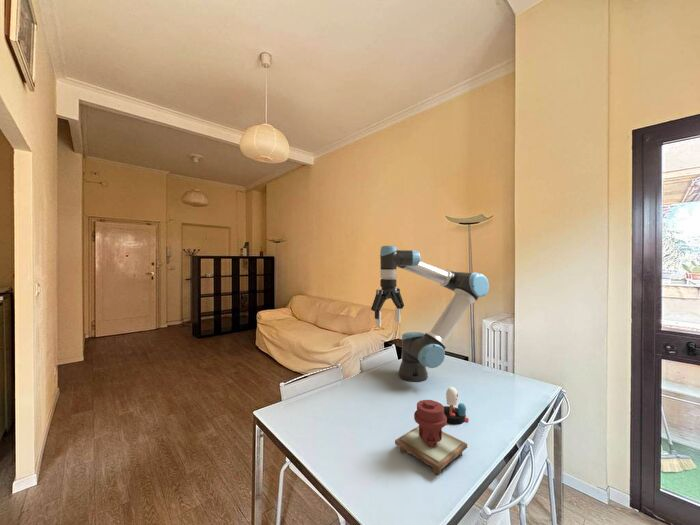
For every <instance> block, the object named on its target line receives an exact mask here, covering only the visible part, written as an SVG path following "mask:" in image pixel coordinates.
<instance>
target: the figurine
mask: <svg viewBox="0 0 700 525" xmlns="http://www.w3.org/2000/svg"><path fill="white" fill-rule="evenodd" d="M445 395H446V396H445V399H446V405H443V406H444V414H445V415H446V417H447V424H448V425H452V426H453V425H455V426H456V425H458V426H459V425H463V424H464V423H465V422H469V421H470V420H469V417H467V412H466V411H467V407H466V405H465V404H464V403H461V402H460V403H459V402H458V401H459V395H458V391H457V389H456V388H455V387H453V386H449V387H448V388H447V390H446V394H445ZM458 403H459V404H458ZM455 406H457V407H455Z"/></svg>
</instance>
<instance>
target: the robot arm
mask: <svg viewBox="0 0 700 525" xmlns="http://www.w3.org/2000/svg"><path fill="white" fill-rule="evenodd" d="M379 256H380V257H379V258H380V271H379V272H380V275H379V276H380V278H381V279H380V283H379V284H380V288H381V289H376V290H375V291H376V292H375V295H374V299H373V303H372V305H371V308H370V310H371V311H373V312H374V319H375V324H374V325H375V326H376V327H382V311H381V309H382V308H383V306H384V304H385V302H386V301H387V300H390V299H391V301H392V303H393V304H394V306H395V308H394V321H395V323H401V315H402V309H404V307H405V304H404V300H403V297H402V295H401V289H400V287H399V288H398V287H397V277H398V276H397V275H398V274H397V270H398V269H397V268H399V269H402V270H404V271H408V272H410V273H413V274H415V275H418V276H420V277H422V278H426V279H427V280H431V281H433V282H435V283H438V284H439V285H440V286H441V287H443V288H445V289H448V290H450V291H452V292H454V295H453V297H452V298H451V299H450V301H449V303H448V304H447V306H446V307H445V309H444V310H443V312H442V313H441V315H440V316H439V318H438V319H437V321H435V322H436V323H435V324H434V325H433V326H432V328H431V329H430V331H429V332H425V333H423V332H419V331H418V332H417V331H411V332H404V333H403V334H402V335H401V362H400V366H399V369H398V377H399V378H401V379H402V380H404V381H407V382H414V383H415V382H416V383H417V382H424V381H427V379H428V375H429V374H428V371H427V368H429V369H434V368H438V367H439V366H440V367H441V365H442V364H443V363H444V361H445V358H446V355H445V354H446V351H445V350H446V348H447V345H446V343H447V341H448V339H449V338H450V336H451V335H452V333H453V331H454V330H455V328H456V327H457V325H458V324H459V322H460V320H461V319H462V318H463V316H464V315H465V313H466V312H467V310H468V309H469V307H470V306H471V304H475V303H476V302H477V301H478V299H479V298H482V297H485V296H487V294H488V292H489V290H490V284H489V279H488V278H487V277H486V276H485V275H484V274H483V273H479V272H465V271H464V272H462V271H461V272H460V271H454V270H449V269H442V268H440V267H437V266H435V265H432V264H429V263H428V262H425V261H423V260H421V258H422V257H421V254H420V252H419V251H418V250H413V249H411V250H407V249H405V250H404V249H403V250H402V249H401V250H400V249H397V246H396V245H383V246H381V247H380V255H379Z"/></svg>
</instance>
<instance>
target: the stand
mask: <svg viewBox="0 0 700 525" xmlns="http://www.w3.org/2000/svg"><path fill="white" fill-rule="evenodd" d="M394 444H395V446H398V447H399V451H400V452H401V453H403V454H407V453H409V454H411V455H413V456H414V457H416V458H417V459H418V460H420V461H422V462H424V463H425V464H427V465H428V466H430V467H431V468H432V472H433V474H435V475H440V474H441V473H442V469H444V468H445V467H446V466H447V465H449V464H450V463H451V462H452V461H453V460H454V459H456V458H457V457H462V456H463V452H464V451H465V450H466V449H467V448H468V443H467V442H465V441H463V440H460V439H459V438H457V437H455V436H453V435H450V434H449V433H447V432H445V431H443V430H442V439H441V441H439V442H437V443H434V447H429V446H428V444H427V442H426V441H424V440H422V439H421V438H420V436H419V425H418V426H416V427H414V428H413V429H411V430H410V431H408V432H406V433H405V434H403V435H401V436H399V437H398V438H397V439H394Z"/></svg>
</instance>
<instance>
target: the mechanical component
mask: <svg viewBox="0 0 700 525" xmlns="http://www.w3.org/2000/svg"><path fill="white" fill-rule="evenodd" d="M444 406H445V405H443V404H442V403H440V402H438V401H436V400H433V399H423V400H419V401H418V402H417V403H416V410H415V411H414V414H413V419H414V421H415V423H416V424H417V425H418V426H419V436H420V438H421V439H422V440H424V441H426V442H427V444H428V446H429V447H434V443H437V442H439V441H441V439H442V431H443V428H445V427H446V426H447V424H448V423H447V417H446V415H445V414H444Z"/></svg>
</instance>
